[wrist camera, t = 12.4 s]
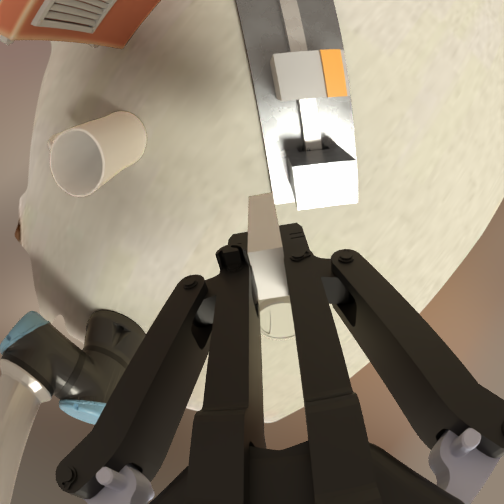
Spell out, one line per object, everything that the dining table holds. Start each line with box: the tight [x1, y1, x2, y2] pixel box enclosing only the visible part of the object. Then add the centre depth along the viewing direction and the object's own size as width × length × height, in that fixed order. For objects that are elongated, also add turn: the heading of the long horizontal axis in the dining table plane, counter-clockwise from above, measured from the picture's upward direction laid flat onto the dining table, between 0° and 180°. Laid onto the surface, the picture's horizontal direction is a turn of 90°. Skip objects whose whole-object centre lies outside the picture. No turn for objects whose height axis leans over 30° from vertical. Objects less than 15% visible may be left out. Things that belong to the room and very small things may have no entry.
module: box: [270, 49, 351, 101], centre depth 25 cm, size 5×7×8 cm
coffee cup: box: [258, 295, 295, 340], centre depth 41 cm, size 8×9×12 cm
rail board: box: [236, 0, 358, 210], centre depth 27 cm, size 30×12×9 cm, turn 10°
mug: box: [48, 111, 147, 197], centre depth 29 cm, size 12×8×12 cm
